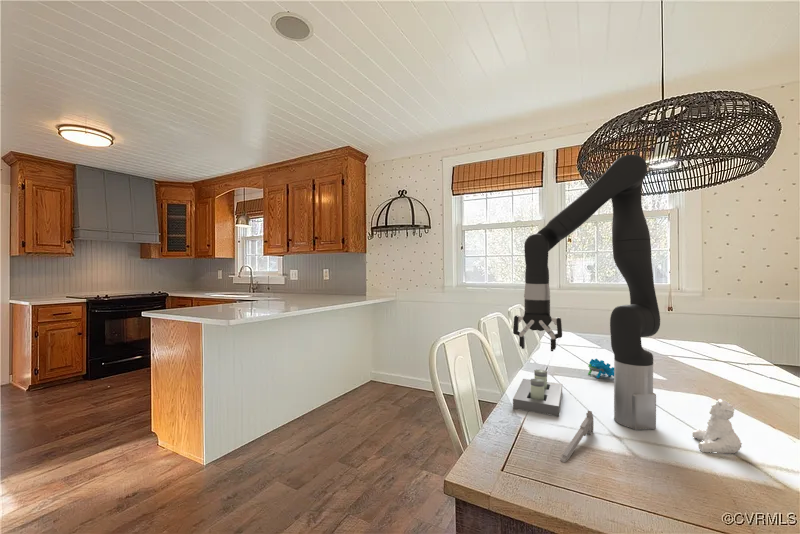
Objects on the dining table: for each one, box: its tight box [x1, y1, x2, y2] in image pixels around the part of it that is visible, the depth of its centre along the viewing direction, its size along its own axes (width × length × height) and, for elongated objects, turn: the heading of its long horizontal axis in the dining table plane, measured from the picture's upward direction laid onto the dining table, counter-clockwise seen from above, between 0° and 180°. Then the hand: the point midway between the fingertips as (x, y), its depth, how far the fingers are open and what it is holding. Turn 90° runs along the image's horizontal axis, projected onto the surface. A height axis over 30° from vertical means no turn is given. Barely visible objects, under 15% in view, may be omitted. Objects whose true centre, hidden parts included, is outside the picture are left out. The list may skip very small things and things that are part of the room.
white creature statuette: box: [692, 398, 743, 454], centre depth 87 cm, size 10×9×12 cm
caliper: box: [559, 410, 594, 463], centre depth 88 cm, size 20×1×6 cm, turn 136°
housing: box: [512, 369, 563, 417], centre depth 118 cm, size 22×13×8 cm, turn 153°
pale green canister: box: [530, 378, 544, 401], centre depth 113 cm, size 4×4×8 cm
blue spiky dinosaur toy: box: [587, 358, 614, 379], centre depth 142 cm, size 11×6×10 cm
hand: (537, 349), depth 113 cm, fingers open, 8 cm apart
